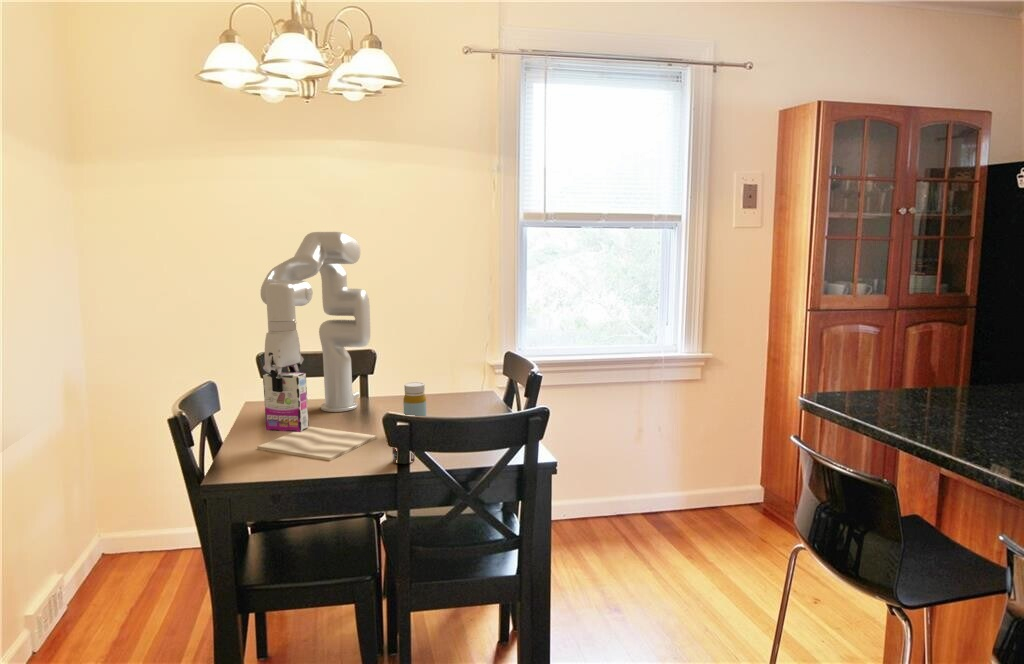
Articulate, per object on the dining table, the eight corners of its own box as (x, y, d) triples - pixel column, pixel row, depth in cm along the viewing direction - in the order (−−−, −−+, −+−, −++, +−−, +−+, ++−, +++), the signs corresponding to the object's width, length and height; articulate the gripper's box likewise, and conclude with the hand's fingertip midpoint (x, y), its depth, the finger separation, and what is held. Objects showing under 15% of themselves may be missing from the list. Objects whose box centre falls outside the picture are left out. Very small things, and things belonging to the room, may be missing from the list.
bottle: (428, 427, 215) (427, 381, 213) (425, 434, 208) (423, 386, 206) (406, 427, 216) (405, 381, 213) (402, 434, 209) (401, 386, 206)
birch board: (308, 428, 215) (308, 426, 215) (376, 438, 205) (376, 435, 205) (257, 449, 195) (257, 446, 195) (330, 460, 185) (330, 457, 185)
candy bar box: (309, 427, 196) (306, 372, 193) (301, 432, 191) (298, 376, 188) (274, 425, 198) (271, 371, 196) (265, 430, 193) (261, 374, 191)
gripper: (292, 322, 199) (295, 382, 202) (249, 329, 184) (253, 394, 186) (312, 323, 196) (315, 384, 199) (270, 331, 181) (274, 397, 183)
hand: (285, 388), depth 193 cm, fingers closed on candy bar box, 5 cm apart
